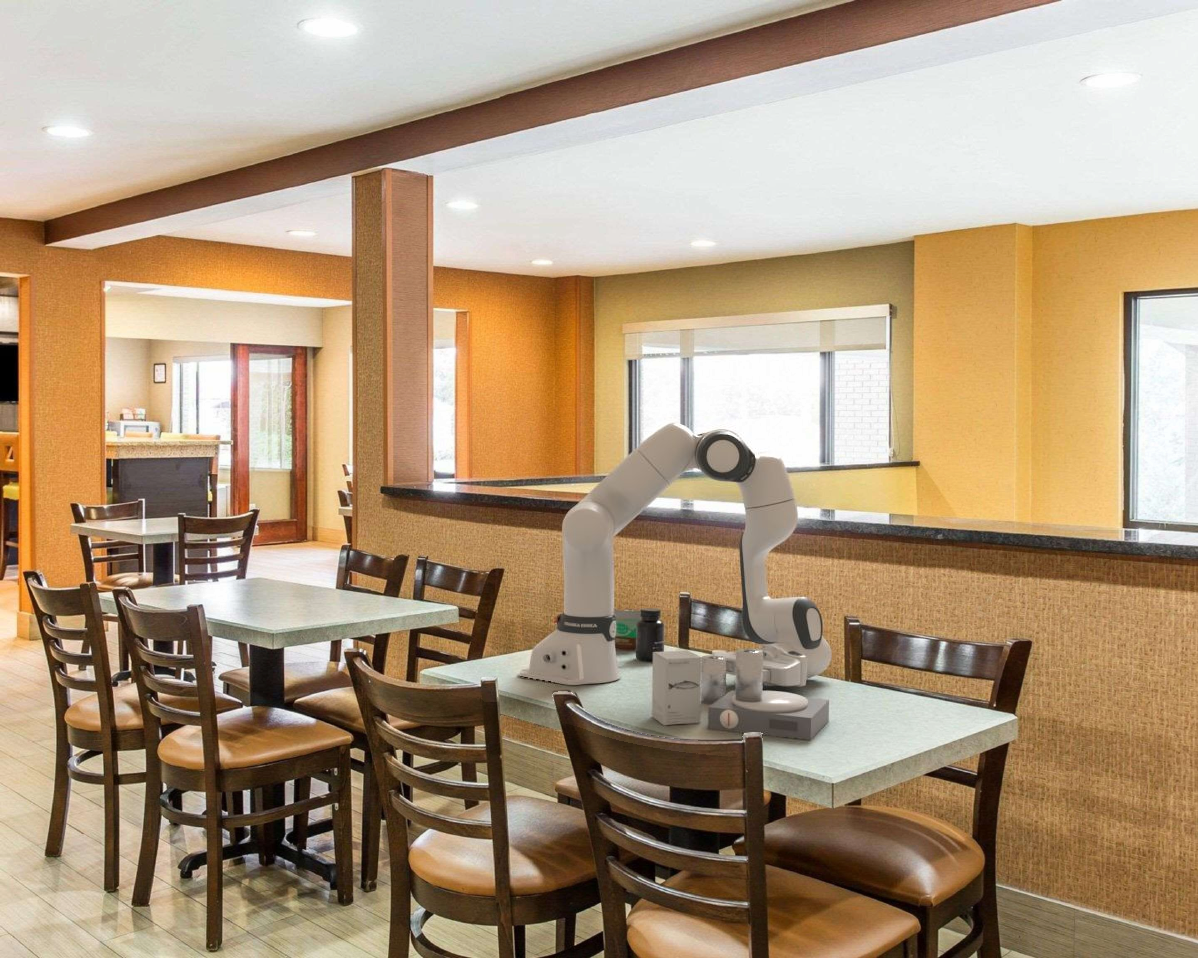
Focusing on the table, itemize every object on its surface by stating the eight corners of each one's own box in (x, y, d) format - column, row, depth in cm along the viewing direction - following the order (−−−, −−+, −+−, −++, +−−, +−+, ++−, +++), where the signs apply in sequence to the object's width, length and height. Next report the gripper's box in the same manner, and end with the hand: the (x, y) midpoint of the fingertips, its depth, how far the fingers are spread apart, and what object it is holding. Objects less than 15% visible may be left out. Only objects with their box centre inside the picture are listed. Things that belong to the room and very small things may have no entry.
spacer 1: (697, 703, 228) (698, 658, 227) (705, 697, 232) (705, 654, 232) (721, 705, 226) (722, 660, 225) (728, 700, 230) (729, 656, 230)
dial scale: (707, 728, 208) (707, 702, 207) (731, 710, 222) (732, 686, 221) (810, 740, 200) (810, 713, 200) (828, 720, 214) (829, 695, 214)
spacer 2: (732, 700, 209) (732, 652, 209) (739, 695, 214) (740, 647, 214) (758, 703, 207) (759, 654, 207) (765, 697, 212) (766, 649, 212)
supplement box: (664, 726, 209) (664, 658, 209) (651, 716, 216) (651, 650, 216) (701, 723, 211) (702, 656, 211) (687, 714, 219) (688, 649, 218)
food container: (599, 649, 284) (599, 609, 284) (607, 644, 290) (607, 605, 289) (646, 652, 280) (647, 612, 280) (653, 648, 286) (654, 608, 285)
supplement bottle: (661, 662, 268) (662, 612, 267) (633, 661, 269) (633, 610, 269) (666, 657, 274) (666, 607, 274) (638, 655, 276) (638, 606, 275)
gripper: (737, 642, 249) (694, 649, 240) (812, 656, 234) (769, 665, 225) (736, 670, 249) (693, 679, 240) (811, 687, 234) (768, 697, 225)
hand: (730, 672), depth 232 cm, fingers open, 8 cm apart
